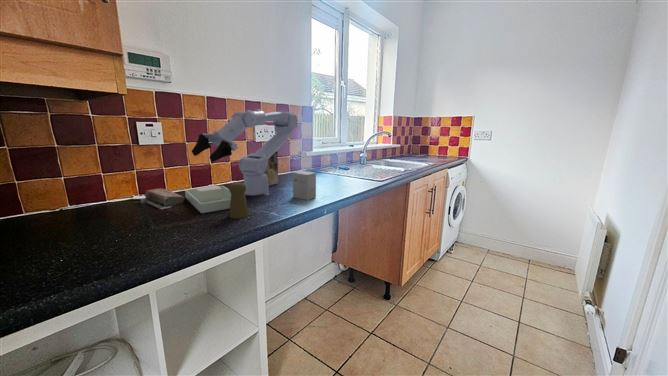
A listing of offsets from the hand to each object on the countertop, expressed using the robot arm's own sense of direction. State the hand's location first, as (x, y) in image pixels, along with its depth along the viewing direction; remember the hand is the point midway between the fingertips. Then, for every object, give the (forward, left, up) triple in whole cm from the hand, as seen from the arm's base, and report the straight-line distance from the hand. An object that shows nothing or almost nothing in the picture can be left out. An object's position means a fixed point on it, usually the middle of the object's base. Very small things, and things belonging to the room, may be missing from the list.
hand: (202, 156), depth 92 cm
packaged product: (+10, -15, -19) cm, 26 cm away
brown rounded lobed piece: (-7, +12, -19) cm, 23 cm away
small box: (-37, +5, -19) cm, 42 cm away
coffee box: (-35, -25, -19) cm, 46 cm away
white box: (-4, -10, -17) cm, 20 cm away
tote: (-4, -5, -18) cm, 19 cm away
